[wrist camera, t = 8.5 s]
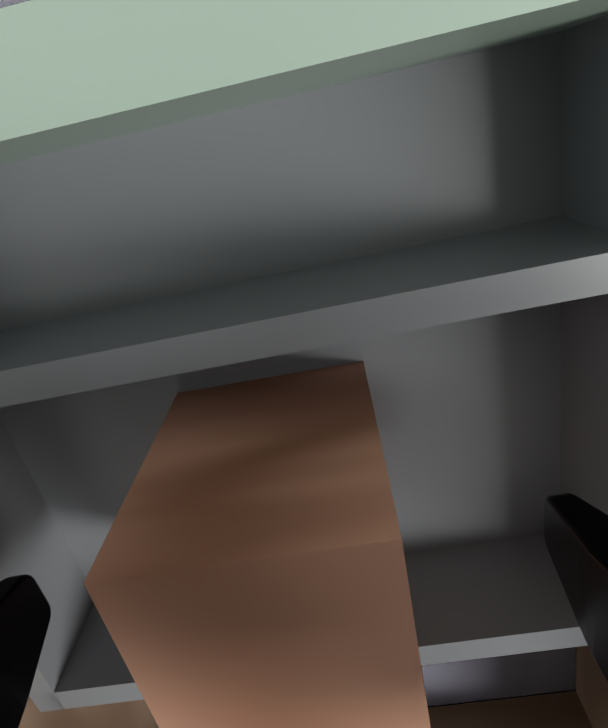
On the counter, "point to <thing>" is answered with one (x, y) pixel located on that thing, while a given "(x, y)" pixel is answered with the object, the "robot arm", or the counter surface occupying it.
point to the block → (265, 563)
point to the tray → (307, 277)
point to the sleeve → (448, 723)
